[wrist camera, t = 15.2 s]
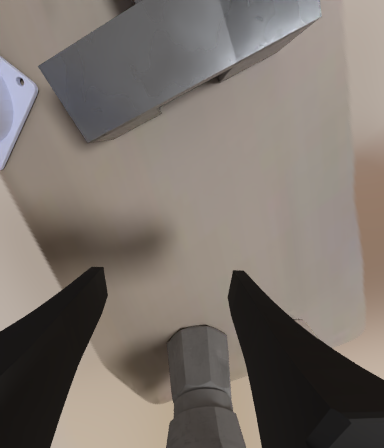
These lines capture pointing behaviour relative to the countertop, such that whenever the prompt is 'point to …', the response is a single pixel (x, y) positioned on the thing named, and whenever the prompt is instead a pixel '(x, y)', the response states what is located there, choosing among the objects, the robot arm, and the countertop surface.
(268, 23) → the grey bridge block
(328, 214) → the countertop surface
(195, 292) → the countertop surface
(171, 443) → the coffeepot
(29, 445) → the robot arm
